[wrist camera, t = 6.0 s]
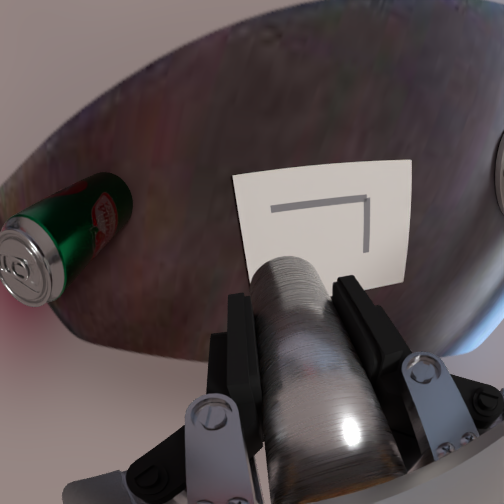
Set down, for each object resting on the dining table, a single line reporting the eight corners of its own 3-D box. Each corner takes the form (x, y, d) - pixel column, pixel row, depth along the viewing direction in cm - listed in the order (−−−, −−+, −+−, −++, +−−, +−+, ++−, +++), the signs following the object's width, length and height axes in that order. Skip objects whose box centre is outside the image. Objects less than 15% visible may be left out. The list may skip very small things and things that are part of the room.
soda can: (129, 236, 22) (59, 326, 12) (80, 220, 22) (-5, 294, 11) (141, 178, 20) (54, 238, 10) (87, 165, 20) (-16, 211, 9)
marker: (319, 249, 11) (462, 540, 1) (321, 310, 13) (406, 552, 3) (243, 261, 11) (271, 601, 1) (253, 321, 13) (282, 584, 3)
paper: (410, 159, 20) (411, 160, 20) (402, 280, 26) (403, 281, 25) (232, 175, 21) (232, 176, 21) (254, 306, 26) (254, 308, 26)
